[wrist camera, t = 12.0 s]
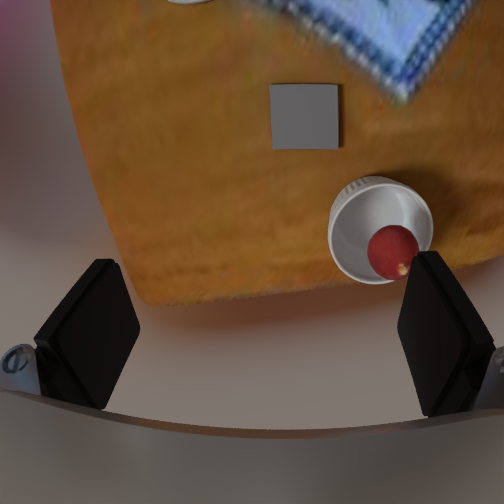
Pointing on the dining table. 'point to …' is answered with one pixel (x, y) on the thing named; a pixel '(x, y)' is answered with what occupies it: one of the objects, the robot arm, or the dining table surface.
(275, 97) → the coaster
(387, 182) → the ramekin
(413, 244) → the onion
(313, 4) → the dining table surface
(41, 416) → the robot arm
